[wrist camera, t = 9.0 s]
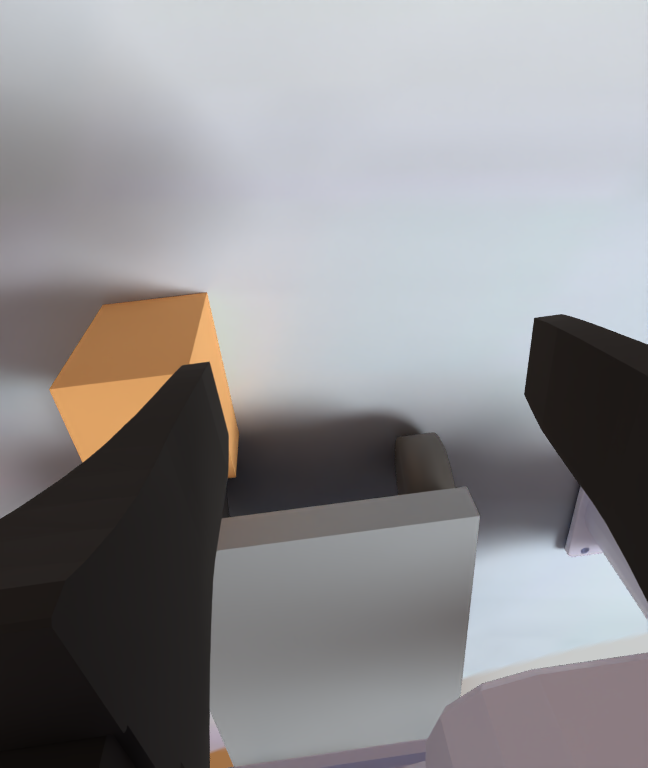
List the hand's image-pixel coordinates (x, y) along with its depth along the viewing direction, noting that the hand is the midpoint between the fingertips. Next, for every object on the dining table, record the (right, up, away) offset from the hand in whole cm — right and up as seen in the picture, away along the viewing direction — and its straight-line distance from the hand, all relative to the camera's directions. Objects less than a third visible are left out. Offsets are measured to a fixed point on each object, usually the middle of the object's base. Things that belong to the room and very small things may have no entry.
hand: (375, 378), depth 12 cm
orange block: (-7, 0, +10) cm, 13 cm away
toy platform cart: (-1, -10, +18) cm, 20 cm away
